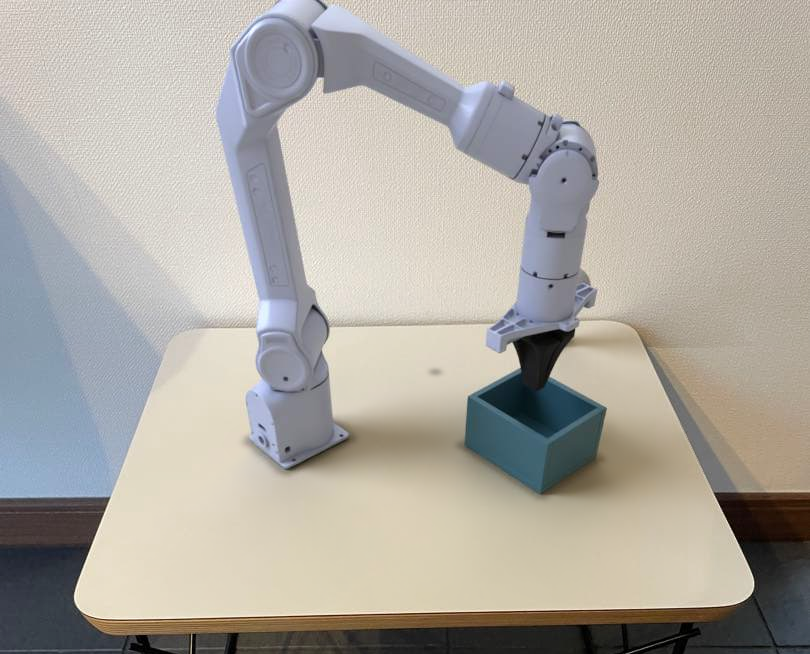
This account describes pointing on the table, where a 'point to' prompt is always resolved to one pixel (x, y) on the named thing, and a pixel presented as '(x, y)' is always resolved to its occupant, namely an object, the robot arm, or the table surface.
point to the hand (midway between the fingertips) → (533, 385)
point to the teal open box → (533, 429)
